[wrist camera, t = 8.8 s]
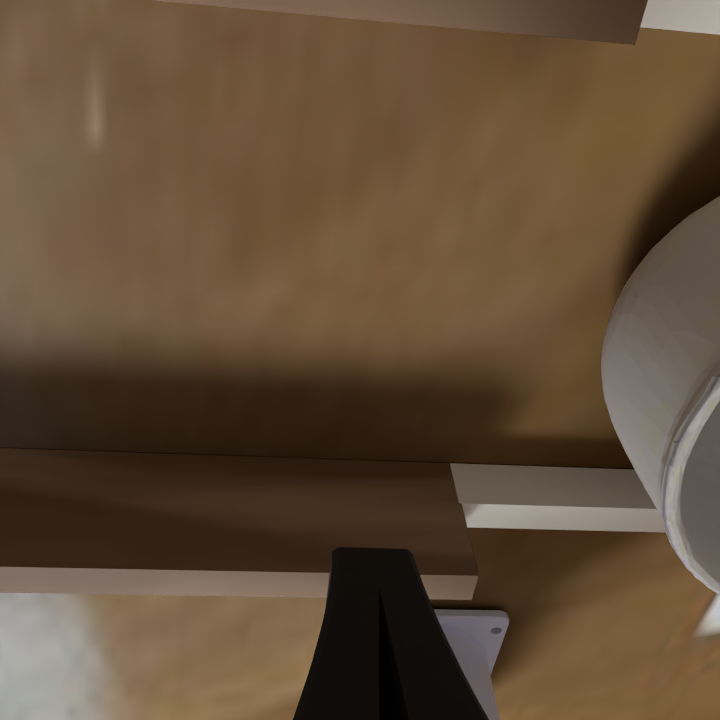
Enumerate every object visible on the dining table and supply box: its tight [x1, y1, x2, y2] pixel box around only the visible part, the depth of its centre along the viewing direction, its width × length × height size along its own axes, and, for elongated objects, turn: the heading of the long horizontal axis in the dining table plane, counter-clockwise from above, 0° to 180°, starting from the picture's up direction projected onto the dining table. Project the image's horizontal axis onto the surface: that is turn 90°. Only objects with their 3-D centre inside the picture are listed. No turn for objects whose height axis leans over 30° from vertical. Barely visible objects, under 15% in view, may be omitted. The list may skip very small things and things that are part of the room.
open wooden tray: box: [0, 0, 648, 600], centre depth 17 cm, size 17×24×5 cm
